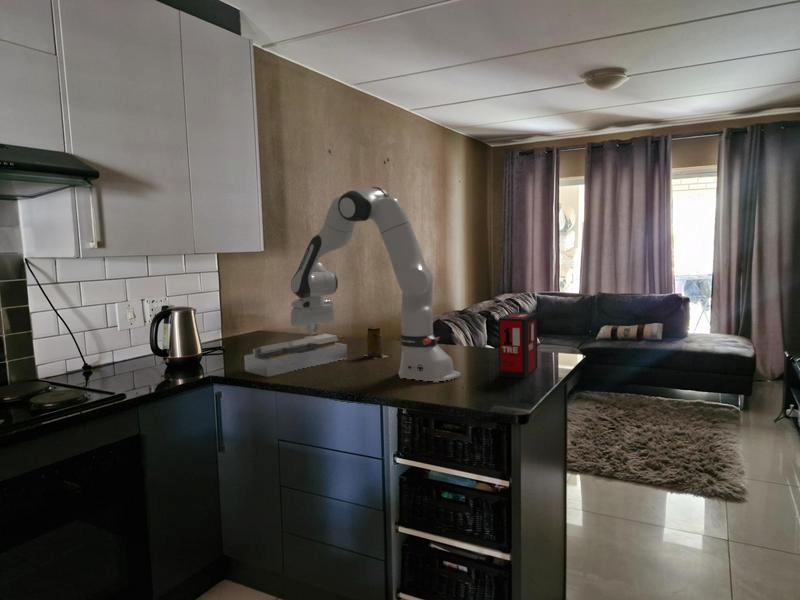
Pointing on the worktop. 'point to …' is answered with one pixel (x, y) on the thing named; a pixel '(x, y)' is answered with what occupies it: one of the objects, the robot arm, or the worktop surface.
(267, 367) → the switch unit
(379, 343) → the condiment
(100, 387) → the worktop surface
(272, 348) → the rocker
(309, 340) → the rocker
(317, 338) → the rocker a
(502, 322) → the cleaning product box
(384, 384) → the worktop surface
